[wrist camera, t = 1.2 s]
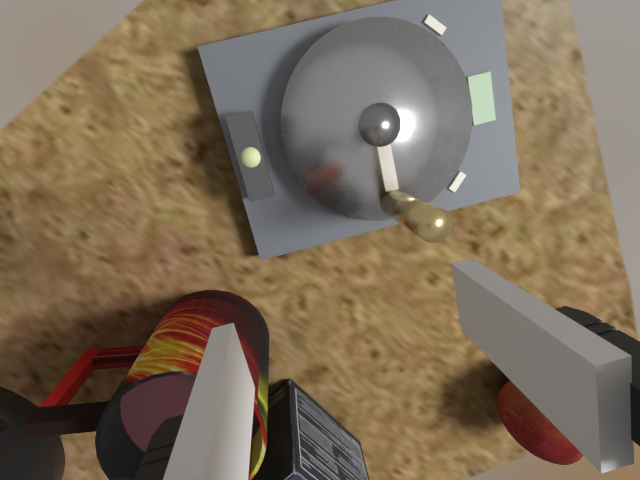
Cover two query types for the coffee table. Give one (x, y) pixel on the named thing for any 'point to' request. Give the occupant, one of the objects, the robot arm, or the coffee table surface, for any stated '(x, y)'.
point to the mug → (158, 382)
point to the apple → (533, 428)
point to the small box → (307, 441)
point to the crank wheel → (378, 123)
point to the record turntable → (266, 103)
